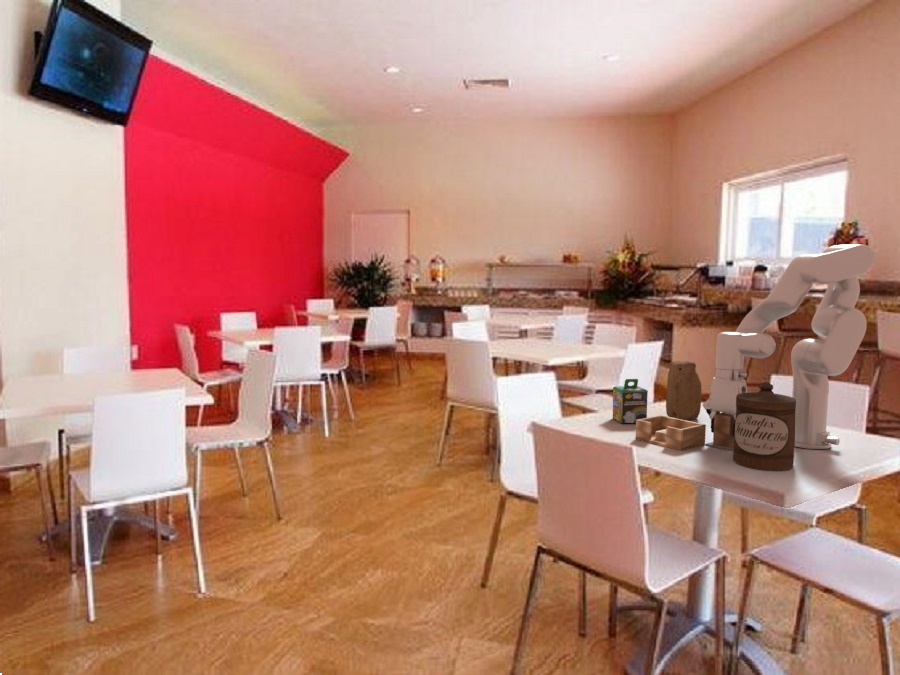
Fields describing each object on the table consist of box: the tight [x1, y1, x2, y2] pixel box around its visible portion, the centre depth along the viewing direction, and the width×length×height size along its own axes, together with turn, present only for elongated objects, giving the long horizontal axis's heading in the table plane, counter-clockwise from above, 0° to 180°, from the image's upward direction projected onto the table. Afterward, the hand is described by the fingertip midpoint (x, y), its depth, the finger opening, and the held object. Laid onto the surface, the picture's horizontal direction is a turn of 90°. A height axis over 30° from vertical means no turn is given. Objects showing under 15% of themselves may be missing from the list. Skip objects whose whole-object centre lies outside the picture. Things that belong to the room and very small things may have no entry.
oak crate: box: [634, 414, 707, 451], centre depth 206 cm, size 16×12×6 cm
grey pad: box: [705, 441, 734, 452], centre depth 202 cm, size 8×8×1 cm
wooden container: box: [732, 382, 796, 472], centre depth 183 cm, size 15×15×22 cm
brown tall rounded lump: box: [665, 360, 702, 421], centre depth 238 cm, size 11×8×20 cm
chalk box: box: [612, 378, 649, 424], centre depth 233 cm, size 9×9×15 cm
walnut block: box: [712, 412, 735, 448], centre depth 201 cm, size 5×5×9 cm
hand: (726, 433), depth 201 cm, fingers open, 6 cm apart
